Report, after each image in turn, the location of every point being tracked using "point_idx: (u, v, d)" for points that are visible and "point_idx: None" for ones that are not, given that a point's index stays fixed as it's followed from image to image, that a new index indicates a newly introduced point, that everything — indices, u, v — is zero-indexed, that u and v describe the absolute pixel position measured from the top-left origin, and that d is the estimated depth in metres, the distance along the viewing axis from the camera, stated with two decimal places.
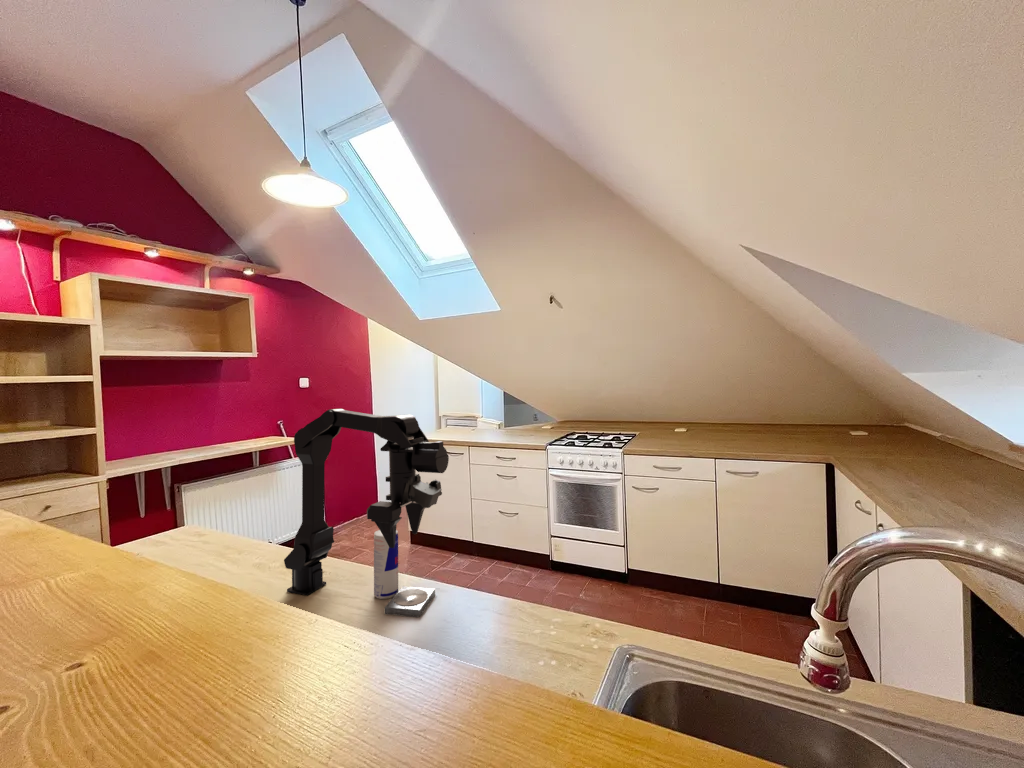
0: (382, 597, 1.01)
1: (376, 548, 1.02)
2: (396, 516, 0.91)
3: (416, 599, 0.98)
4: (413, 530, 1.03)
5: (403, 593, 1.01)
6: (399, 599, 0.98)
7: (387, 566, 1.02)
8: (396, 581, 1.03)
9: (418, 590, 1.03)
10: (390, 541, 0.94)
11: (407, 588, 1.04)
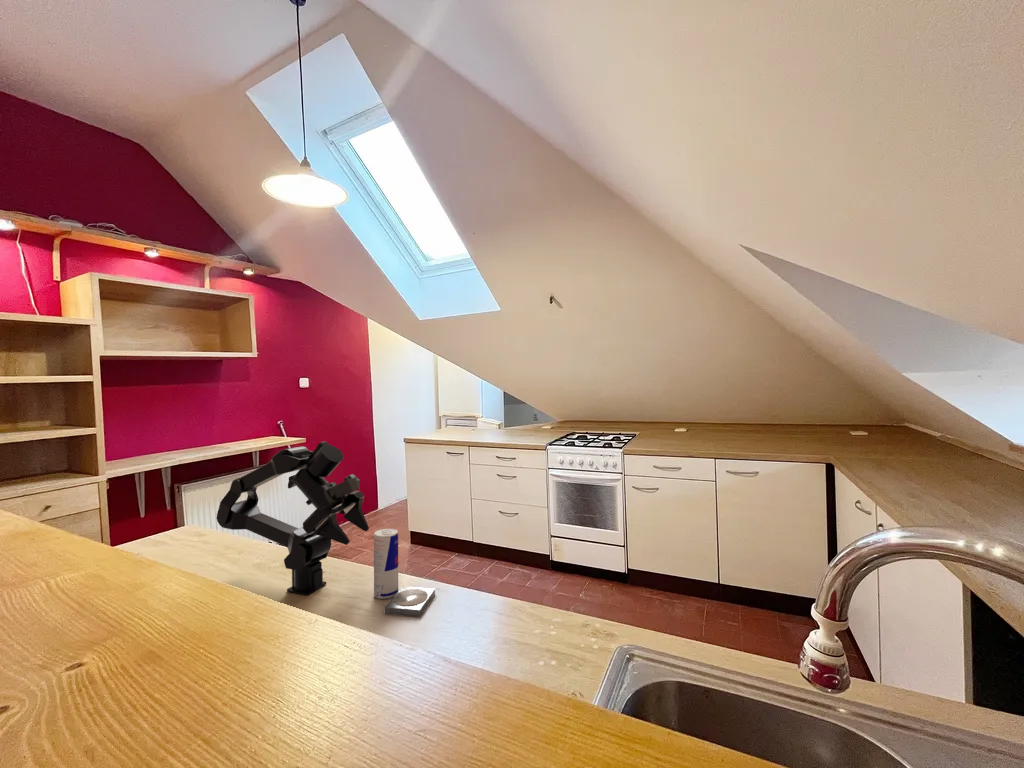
0: (382, 597, 1.01)
1: (376, 548, 1.02)
2: (328, 512, 0.99)
3: (416, 599, 0.98)
4: (364, 528, 1.10)
5: (403, 593, 1.01)
6: (399, 599, 0.98)
7: (387, 566, 1.02)
8: (396, 581, 1.03)
9: (418, 590, 1.03)
10: (342, 539, 1.00)
11: (407, 588, 1.04)
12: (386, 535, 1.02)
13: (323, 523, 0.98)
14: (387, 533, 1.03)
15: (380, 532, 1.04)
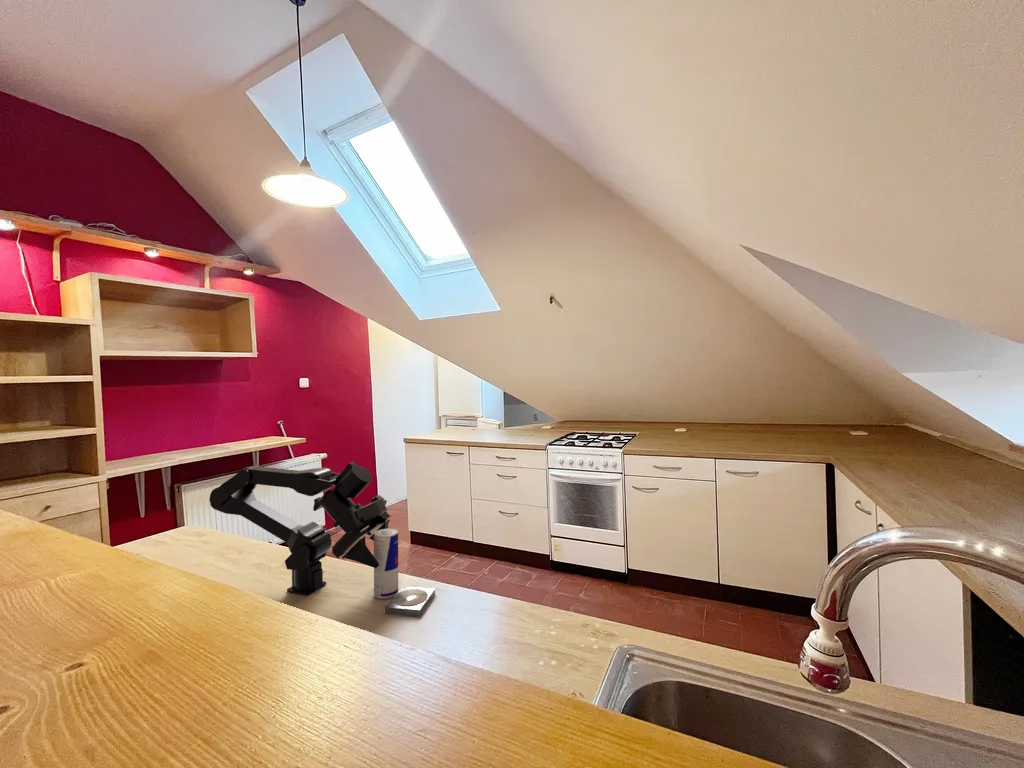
0: (382, 597, 1.01)
1: (376, 548, 1.02)
2: (358, 536, 0.97)
3: (416, 599, 0.98)
4: None
5: (403, 593, 1.01)
6: (399, 599, 0.98)
7: (387, 566, 1.02)
8: (396, 581, 1.03)
9: (418, 590, 1.03)
10: (371, 562, 0.99)
11: (407, 588, 1.04)
12: (386, 535, 1.02)
13: (353, 547, 0.97)
14: (387, 533, 1.03)
15: (380, 532, 1.04)
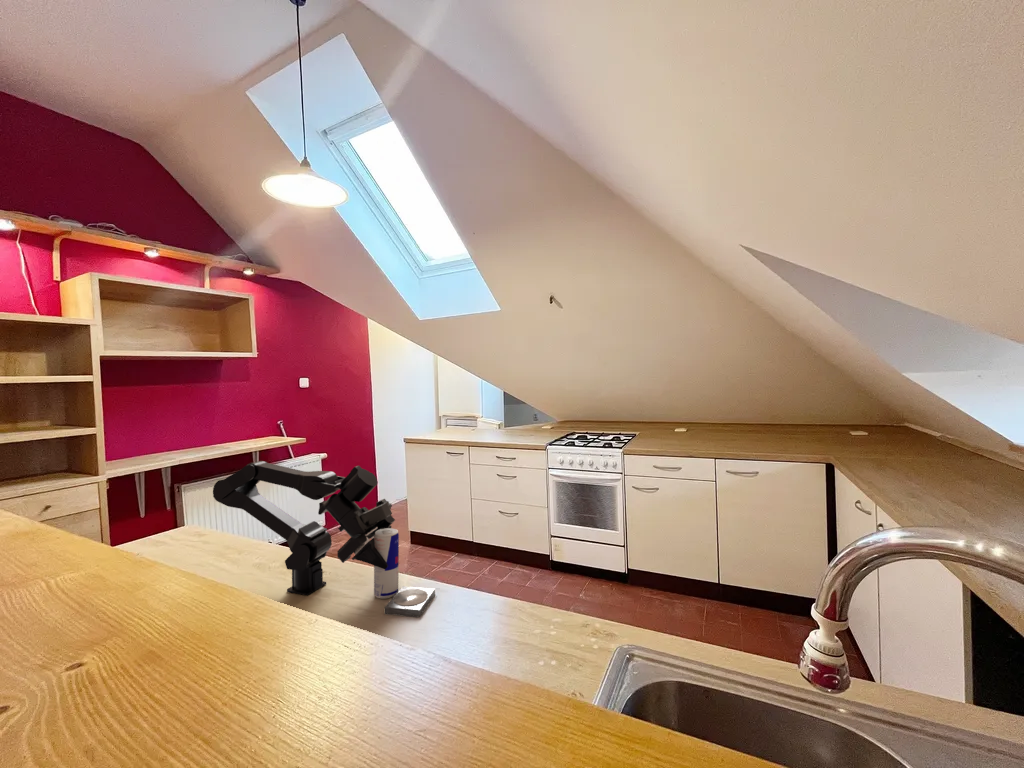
0: (382, 597, 1.01)
1: (377, 547, 1.02)
2: (363, 540, 0.97)
3: (416, 599, 0.98)
4: None
5: (403, 593, 1.01)
6: (399, 599, 0.98)
7: (388, 566, 1.02)
8: (396, 581, 1.03)
9: (418, 590, 1.03)
10: (380, 563, 1.01)
11: (407, 588, 1.04)
12: (387, 534, 1.02)
13: (362, 548, 0.98)
14: (388, 532, 1.04)
15: (381, 531, 1.05)
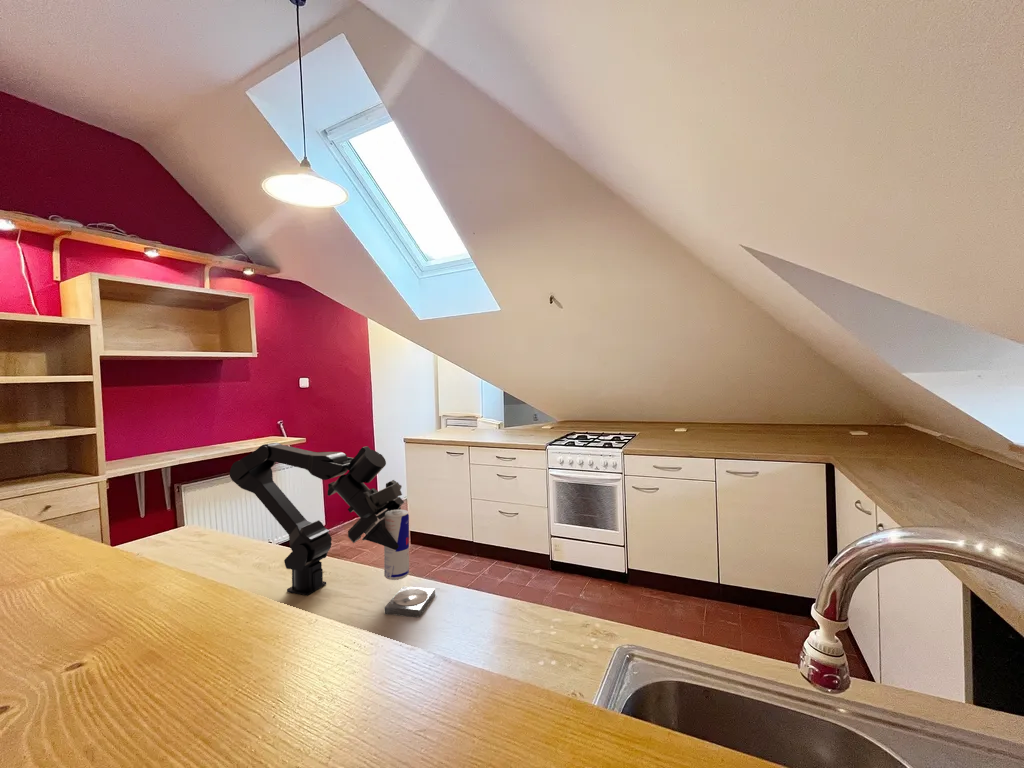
0: (393, 578, 1.00)
1: (387, 528, 1.00)
2: (374, 520, 0.96)
3: (416, 599, 0.98)
4: None
5: (403, 593, 1.01)
6: (399, 599, 0.98)
7: None
8: (407, 562, 1.02)
9: (418, 590, 1.03)
10: (391, 544, 0.99)
11: (407, 588, 1.04)
12: (397, 515, 1.01)
13: (373, 528, 0.97)
14: (398, 513, 1.02)
15: (390, 512, 1.03)
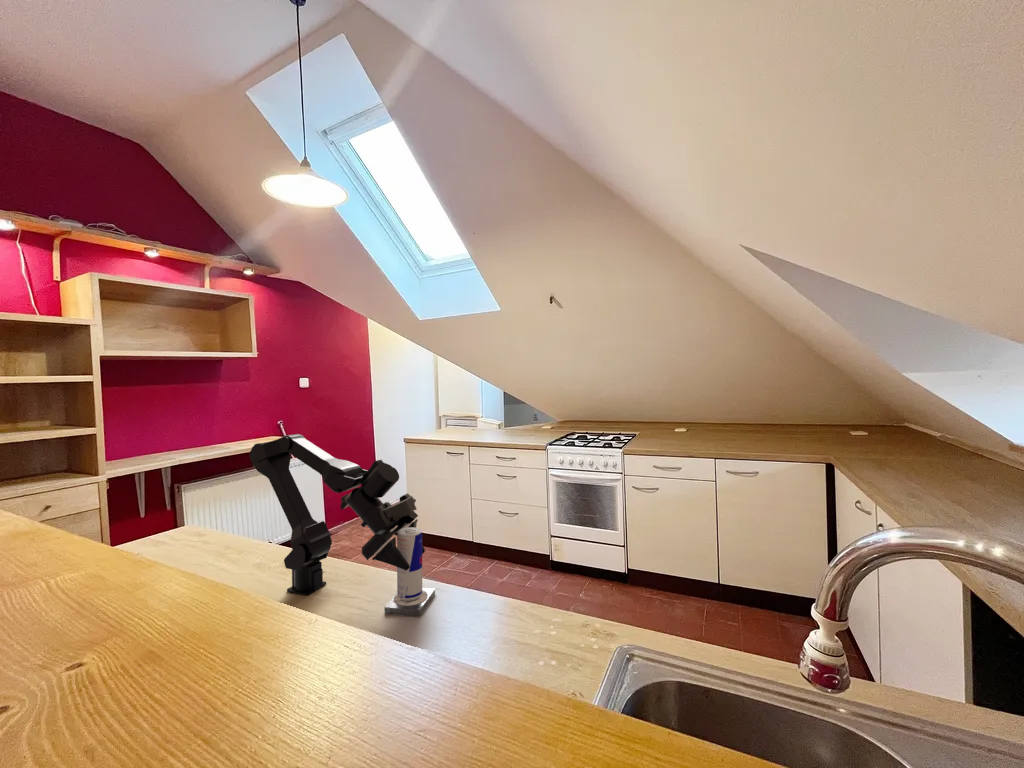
0: (406, 599, 0.97)
1: (400, 547, 0.97)
2: (388, 536, 0.93)
3: (416, 599, 0.98)
4: None
5: None
6: (399, 599, 0.98)
7: (412, 567, 0.97)
8: (420, 582, 0.99)
9: None
10: (402, 564, 0.94)
11: None
12: (411, 534, 0.98)
13: (383, 548, 0.92)
14: (411, 532, 0.99)
15: (403, 531, 1.00)
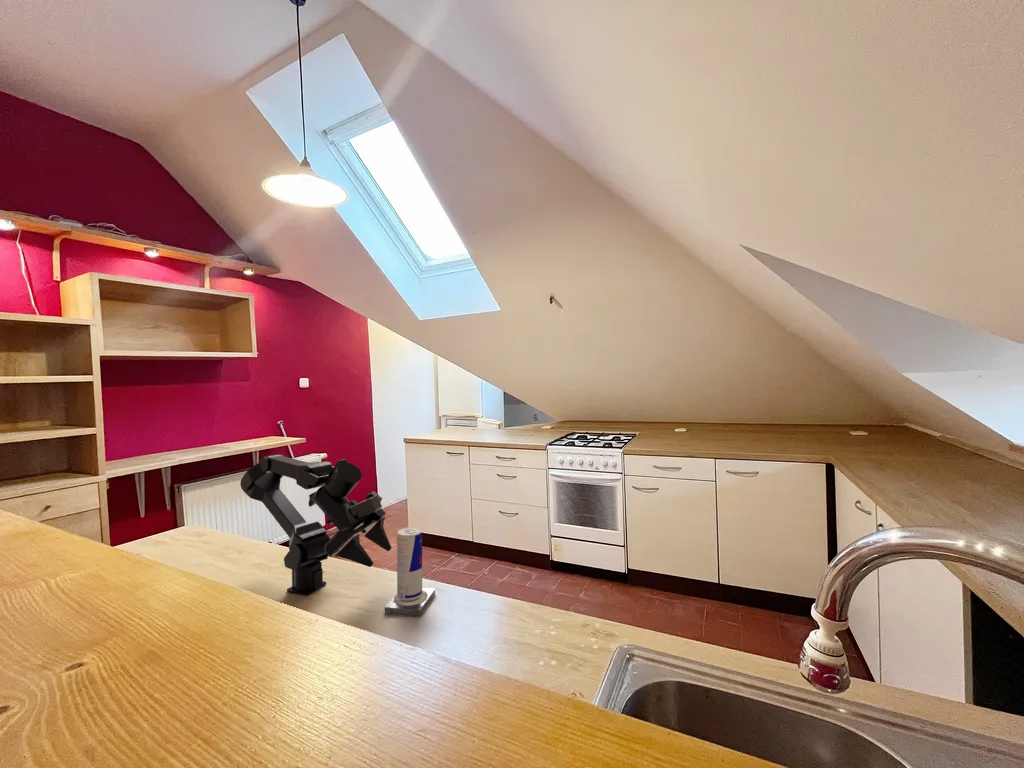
0: (406, 599, 0.97)
1: (400, 547, 0.97)
2: (351, 534, 0.94)
3: (416, 599, 0.98)
4: (386, 548, 1.05)
5: None
6: (399, 599, 0.98)
7: (412, 567, 0.97)
8: (420, 582, 0.99)
9: None
10: (365, 561, 0.96)
11: None
12: (410, 534, 0.98)
13: (346, 545, 0.94)
14: (411, 532, 0.99)
15: (403, 531, 1.00)
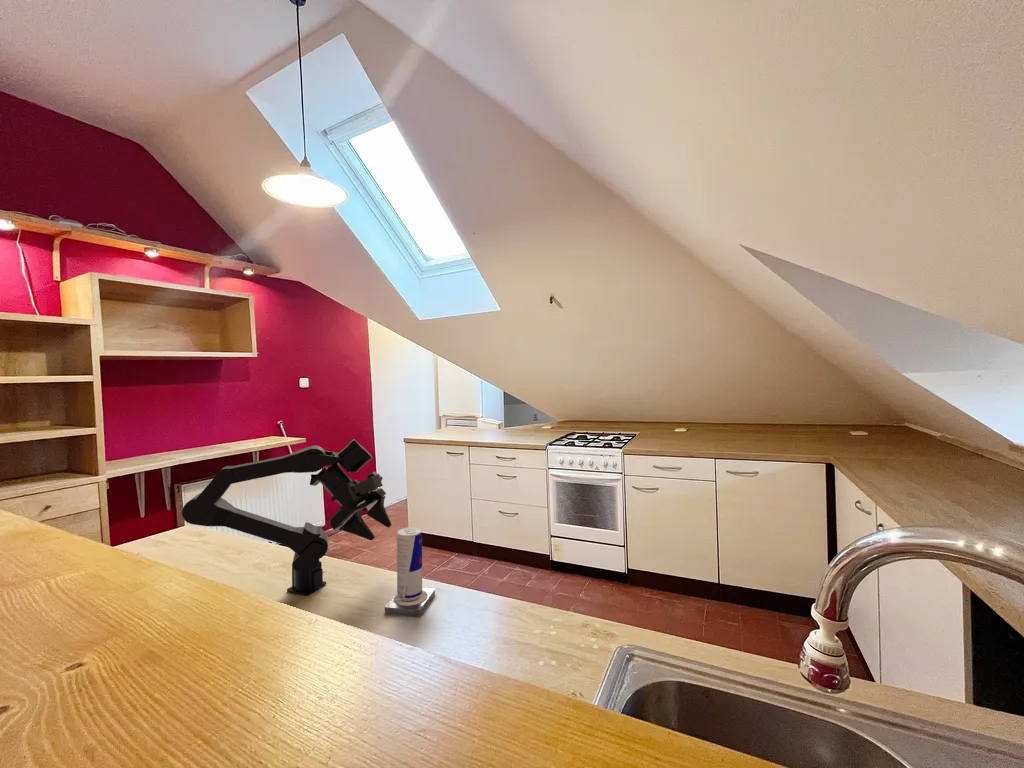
0: (406, 599, 0.97)
1: (400, 547, 0.97)
2: (354, 509, 1.01)
3: (416, 599, 0.98)
4: (387, 525, 1.12)
5: None
6: (399, 599, 0.98)
7: (412, 567, 0.97)
8: (420, 582, 0.99)
9: None
10: (367, 535, 1.03)
11: None
12: (410, 534, 0.98)
13: (349, 519, 1.01)
14: (411, 532, 0.99)
15: (403, 531, 1.00)
